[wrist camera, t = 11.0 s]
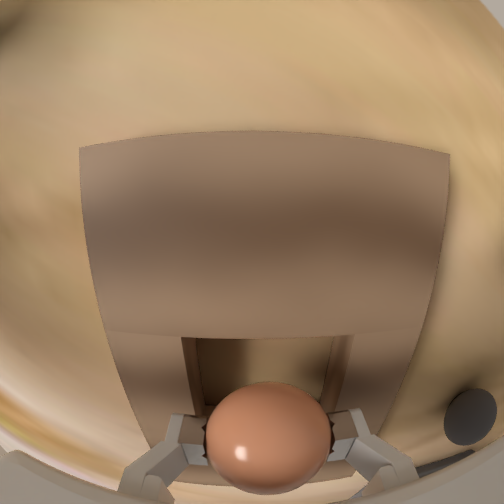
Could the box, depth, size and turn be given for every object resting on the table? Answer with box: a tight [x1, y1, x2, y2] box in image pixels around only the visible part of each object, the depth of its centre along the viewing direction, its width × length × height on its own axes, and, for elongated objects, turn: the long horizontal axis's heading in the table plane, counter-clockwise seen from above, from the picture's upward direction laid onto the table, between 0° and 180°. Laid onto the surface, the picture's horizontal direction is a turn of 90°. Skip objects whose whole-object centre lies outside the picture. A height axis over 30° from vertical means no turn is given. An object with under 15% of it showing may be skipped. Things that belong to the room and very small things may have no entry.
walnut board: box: [79, 131, 450, 486], centre depth 13 cm, size 22×14×2 cm, turn 0°
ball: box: [444, 389, 497, 446], centre depth 14 cm, size 5×5×5 cm
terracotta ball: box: [205, 382, 332, 495], centre depth 9 cm, size 5×5×5 cm
